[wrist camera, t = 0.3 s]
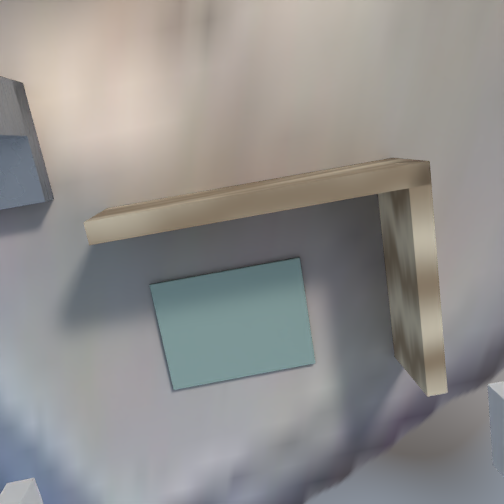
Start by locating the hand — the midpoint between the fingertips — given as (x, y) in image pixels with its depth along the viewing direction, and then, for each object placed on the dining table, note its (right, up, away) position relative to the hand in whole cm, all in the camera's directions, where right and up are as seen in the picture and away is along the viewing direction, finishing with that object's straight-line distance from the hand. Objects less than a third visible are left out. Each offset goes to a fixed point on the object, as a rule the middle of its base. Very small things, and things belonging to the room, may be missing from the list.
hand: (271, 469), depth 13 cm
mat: (-2, 0, +28) cm, 28 cm away
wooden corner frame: (+1, +3, +28) cm, 28 cm away
